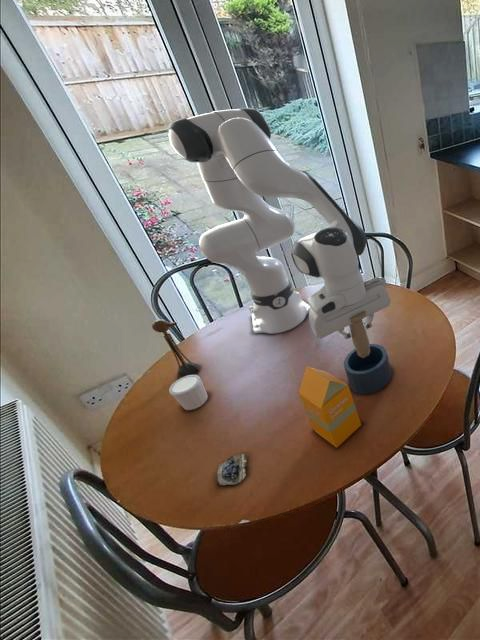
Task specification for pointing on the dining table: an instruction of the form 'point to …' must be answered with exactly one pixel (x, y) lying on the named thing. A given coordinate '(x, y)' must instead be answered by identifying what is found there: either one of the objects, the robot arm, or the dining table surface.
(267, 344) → the dining table surface
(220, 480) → the mineral rock
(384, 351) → the jar
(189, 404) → the white ribbed cylinder
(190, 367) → the wooden tabletop sculpture
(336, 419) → the orange juice
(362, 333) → the handle
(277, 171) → the robot arm
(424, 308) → the dining table surface
